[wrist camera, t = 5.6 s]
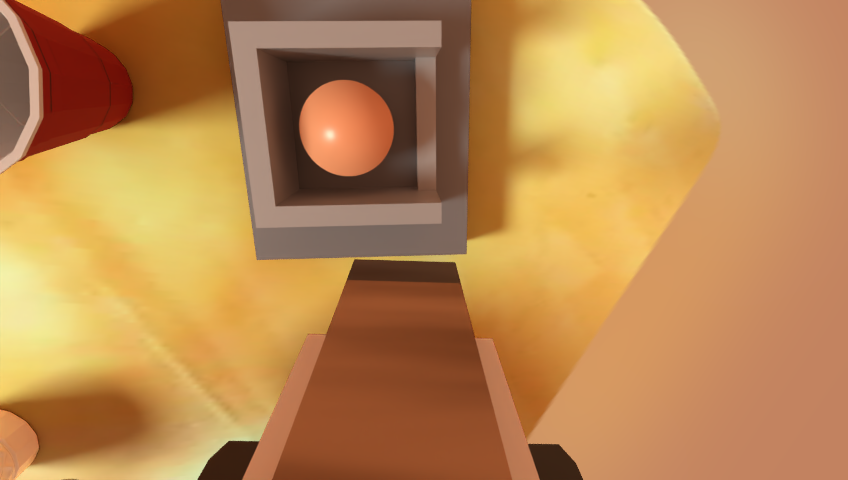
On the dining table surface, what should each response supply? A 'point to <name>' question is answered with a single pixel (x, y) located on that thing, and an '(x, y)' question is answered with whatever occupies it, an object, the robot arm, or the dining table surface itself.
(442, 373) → the brown wooden block
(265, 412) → the dining table surface
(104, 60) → the plastic cup
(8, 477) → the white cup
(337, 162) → the button
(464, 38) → the switch panel
